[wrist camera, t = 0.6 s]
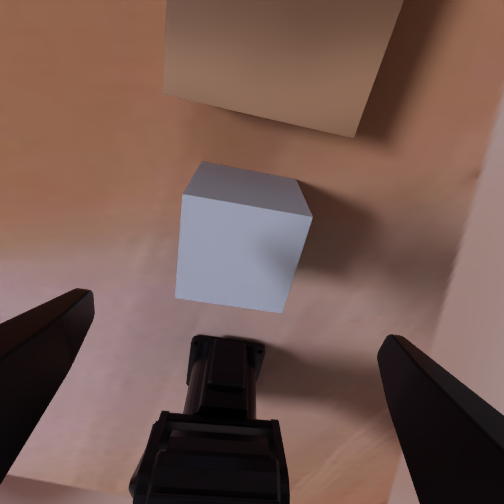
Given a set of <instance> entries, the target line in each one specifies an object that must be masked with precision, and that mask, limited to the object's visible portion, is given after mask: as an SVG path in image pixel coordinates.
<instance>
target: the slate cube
mask: <svg viewBox="0 0 504 504" xmlns="http://www.w3.org/2000/svg"><path fill="white" fill-rule="evenodd" d="M312 218H313V216H312V214H311V212H310V210H309V207H308V205H307V203H306V201H305V198H304V196H303V194H302V192H301V189H300V187H299V185H298V183H297V180H296V179H292V178H287V177H281V176H276V175H271V174H266V173H260V172H255V171H250V170H245V169H239V168H234V167H229V166H223V165H218V164H213V163H208V162H201V164H200V165H199V167H198V169H197V170H196V172H195V174H194V175H193V177H192V179H191V181H190V182H189V184H188V186H187V187H186V189H185V191H184V192H183V195H182V209H181V222H180V236H179V250H178V263H177V277H176V290H175V298H178V299H185V300H192V301H199V302H206V303H213V304H220V305H227V306H234V307H241V308H248V309H255V310H262V311H269V312H276V313H282V312H283V309H284V306H285V303H286V300H287V296H288V293H289V290H290V287H291V284H292V281H293V278H294V275H295V271H296V268H297V265H298V262H299V259H300V256H301V253H302V249H303V246H304V243H305V240H306V237H307V234H308V231H309V228H310V224H311V221H312Z"/></svg>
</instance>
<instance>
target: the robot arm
mask: <svg viewBox="0 0 504 504" xmlns="http://www.w3.org/2000/svg"><path fill="white" fill-rule="evenodd" d="M94 314H95V310H94V297H93V292H92V291H91V290H87V289H80V288H76V289H73V290H71V291H69V292H67V293H65V294H63V295H61V296H58V297H56V298H54V299H52V300H50V301H48V302H46V303H44V304H41V305H39V306H37V307H35V308H33V309H31V310H29V311H27V312H24V313H22V314H20V315H18V316H16V317H14V318H12V319H10V320H7V321H5V322H3V323H1V324H0V484H1V483H2V481H3V479H4V478H5V476H6V474H7V473H8V471H9V469H10V468H11V466H12V464H13V463H14V461H15V460H16V458H17V456H18V455H19V453H20V451H21V450H22V448H23V446H24V445H25V443H26V441H27V440H28V438H29V436H30V435H31V433H32V431H33V430H34V428H35V427H36V425H37V423H38V422H39V420H40V418H41V417H42V415H43V413H44V412H45V410H46V408H47V407H48V405H49V403H50V402H51V400H52V398H53V397H54V395H55V394H56V392H57V390H58V389H59V387H60V385H61V384H62V382H63V380H64V379H65V377H66V375H67V374H68V372H69V370H70V368H71V366H72V364H73V362H74V360H75V358H76V356H77V354H78V352H79V349H80V347H81V345H82V343H83V341H84V339H85V336H86V334H87V332H88V330H89V328H90V326H91V324H92V321H93V319H94ZM196 341H198V342H196ZM264 355H265V346H264V345H262V344H256V343H248V342H241V341H233V340H226V339H218V338H211V337H203V336H194V337H193V338H192V342H191V349H190V357H189V365H188V373H187V382H186V384H187V385H188V386H189V387H188V392H187V397H186V402H185V407H184V412H183V414H181V413H169V411H162V412H161V414H160V417H159V420H158V421H156V423H155V424H153V426H152V430H151V433H150V437H149V440H148V443H147V446H146V449H145V451H144V453H143V455H142V458H141V460H140V462H139V464H138V466H137V468H136V470H135V472H134V474H133V476H132V478H131V480H130V484H129V492H130V494H131V496H132V497H133V504H290V491H289V477H288V469H287V464H286V458H285V453H284V448H283V442H282V437H281V431H280V426H279V421H278V420H274V419H271V421H270V420H257V419H256V381H257V378H258V375H259V372H260V368H261V365H262V362H263V359H264ZM377 360H378V365H379V369H380V374H381V378H382V383H383V387H384V392H385V396H386V401H387V404H388V408H389V411H390V415H391V418H392V421H393V424H394V427H395V430H396V433H397V436H398V439H399V442H400V445H401V448H402V451H403V454H404V457H405V460H406V463H407V466H408V469H409V472H410V475H411V478H412V481H413V484H414V487H415V490H416V494H417V496H418V500H419V503H420V504H504V415H502V414H501V413H500V412H498V411H497V410H496V409H495V408H493V407H492V406H491V405H490V404H488V403H487V402H486V401H485V400H483V399H482V398H481V397H479V396H478V395H477V394H475V393H474V392H473V391H472V390H470V389H469V388H468V387H467V386H465V385H464V384H463V383H461V382H460V381H459V380H458V379H457V378H455V377H454V376H453V375H451V374H450V373H449V372H447V371H446V370H445V369H444V368H443V367H441V366H440V365H439V364H437V363H436V362H435V361H434V360H432V359H431V358H430V357H429V356H427V355H426V354H425V353H424V352H422V351H421V350H420V349H418V348H417V347H416V346H415V345H413V344H412V343H411V342H410V341H408V340H407V339H406V338H404V337H403V336H400V335H393V334H390V335H388V336H387V337H386V339H385V340H384V342H383V344H382V346H381V348H380V349H379V351H378V354H377Z"/></svg>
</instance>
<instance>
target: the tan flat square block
mask: <svg viewBox="0 0 504 504" xmlns="http://www.w3.org/2000/svg"><path fill="white" fill-rule="evenodd" d="M403 2H404V0H167V10H166V30H165V50H164V70H163V91H162V94H164V95H168V96H172V97H177V98H181V99H185V100H190V101H194V102H198V103H203V104H207V105H211V106H216V107H220V108H224V109H229V110H233V111H237V112H242V113H246V114H250V115H255V116H259V117H263V118H268V119H272V120H276V121H281V122H285V123H289V124H294V125H298V126H302V127H307V128H311V129H315V130H319V131H324V132H328V133H332V134H337V135H341V136H345V137H350V138H354V136H355V133H356V130H357V127H358V125H359V122H360V119H361V117H362V114H363V111H364V108H365V106H366V103H367V100H368V97H369V95H370V92H371V89H372V86H373V84H374V81H375V78H376V76H377V73H378V70H379V67H380V65H381V62H382V59H383V56H384V54H385V51H386V48H387V45H388V43H389V40H390V37H391V35H392V32H393V29H394V26H395V24H396V21H397V18H398V15H399V13H400V10H401V7H402V4H403Z"/></svg>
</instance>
